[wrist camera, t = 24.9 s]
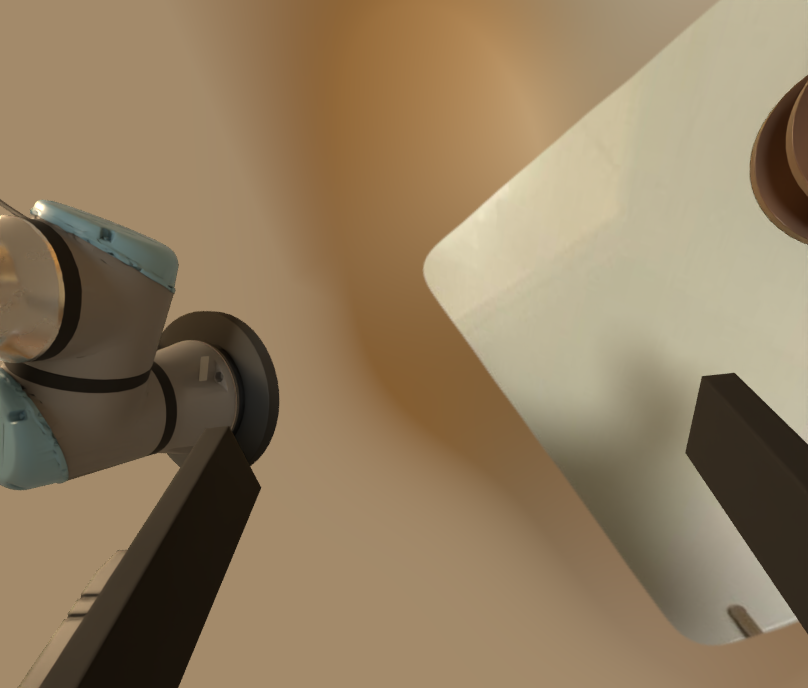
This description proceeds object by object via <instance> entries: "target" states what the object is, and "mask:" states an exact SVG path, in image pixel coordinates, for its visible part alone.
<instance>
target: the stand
mask: <svg viewBox="0 0 808 688" xmlns="http://www.w3.org/2000/svg"><path fill="white" fill-rule="evenodd" d="M750 177H751V183H752V188H753V191H754V194H755V197H756V199H757V201H758V203H759V205H760V207H761V208H762V210H763V211H764V213H765V214H766V215H767V216H768V218H769V219H770V220H771V221H772V222H773V223H774V224H775V225H776V226H777V227H778V228H780V229H781V230H782V231H784V232H785V233H787V234H788V235H790V236H791V237H793V238H795V239H797V240H799V241H801V242H803V243H806V244H808V75H807V76H806V77H805V78H803V79H802V80H801V81H800V82H798V83H797V84H796V85H795V86H794V87H793V88H792V89H791V90H790V91H789V92H788V93H787V94H786V95H785V96H784V97H783V98H782V99H781V100H780V102H779V103H778V104H777V105H776V107H775V108H774V109H773V110H772V111H771V113H770V114H769V116H768V117H767V119H766V120H765V122H764V123H763V125H762V127H761V129H760V131H759V133H758V135H757V138H756V140H755V144H754V147H753V150H752V156H751V162H750Z"/></svg>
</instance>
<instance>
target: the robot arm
mask: <svg viewBox="0 0 808 688" xmlns="http://www.w3.org/2000/svg"><path fill="white" fill-rule="evenodd" d="M0 206H2V207H3V208H5V209H6V210H8V211H9V212H11V213H12V214H13V215H15V216H11V215H0V360H1V361H3V363H2V365H1V366H0V485H2V486H4V487H6V488H9V489H13V490H27V489H32V488H36V487H40V486H45V485H49V484H53V483H63V482H65V481H68V480H71V479H74V478H77V477H80V476H83V475H87V474H90V473H94V472H97V471H100V470H103V469H107V468H110V467H113V466H116V465H119V464H123V463H126V462H129V461H133V460H136V459H139V458H142V457H145V456H149V455H152V454H156V453H172V454H189V455H188V457H187V458H186V460H185V461H184V463H183V464H182V466H181V467H180V469H179V471H178V472H177V474H176V475H175V477H174V478H173V480H172V482H171V483H170V485H169V486H168V488H167V489H166V491H165V492H164V494H163V496H162V497H161V499H160V500H159V502H158V503H157V505H156V506H155V508H154V509H153V511H152V513H151V514H150V516H149V517H148V519H147V521H146V522H145V523H144V525H143V527H142V528H141V530H140V531H139V533H138V534H137V536H136V537H135V539H134V541H133V542H132V544H131V545H130V547H129V548H128V550H118V551H117V552H116V553H115V554H114V555H113V556H112V557H111V558H110V559H109V560H108V561H107V562H106V563H105V564H104V565H103V566H102V567H101V568H100V569H98V570H97V572H96V573H95V575H94V576H93V578H92V579H91V580H90V582H89V583H88V585H87V586H86V588H85V589H84V591H83V592H82V594H81V598H80V599H79V600H77V601H76V603H75V604H74V606H73V607H72V609H71V610H70V611H69V613H68V617H67V619H64V620H63V622H62V623H61V625H60V626H59V628H58V629H57V631H56V632H55V634H54V635H53V637H52V638H51V639H50V641H49V642H48V644H47V645H46V647H45V649H44V650H43V651H42V653H41V654H40V656H39V657H38V659H37V660H36V662H35V663H34V665H33V666H32V667H31V669H30V670H29V672H28V673H27V675H26V677H25V678H24V679H23V681H22V682H21V684H20V685H19V687H18V688H178V687H179V684H180V682H181V679H182V677H183V675H184V672H185V670H186V667H187V665H188V662H189V660H190V658H191V655H192V653H193V651H194V648H195V646H196V643H197V641H198V638H199V636H200V634H201V631H202V629H203V627H204V624H205V622H206V619H207V617H208V614H209V612H210V610H211V607H212V605H213V602H214V600H215V597H216V595H217V593H218V590H219V588H220V586H221V583H222V581H223V578H224V576H225V573H226V571H227V569H228V566H229V564H230V562H231V559H232V557H233V554H234V552H235V549H236V547H237V544H238V542H239V540H240V537H241V535H242V533H243V530H244V528H245V525H246V523H247V521H248V518H249V516H250V513H251V511H252V508H253V506H254V504H255V501H256V499H257V496H258V494H259V491H260V489H261V487H260V484H259V483H258V481H257V479H256V477H255V475H254V473H253V471H252V469H251V467H250V465H249V463H248V461H247V460H246V458H245V456H244V454H243V452H242V450H241V448H240V446H239V444H238V442H237V440H236V438H235V437H234V436H235V435H236V433H237V432H238V430H239V428H240V425H241V423H242V419H243V415H244V409H245V392H244V386H243V381H242V378H241V375H240V372H239V370H238V367H237V366H236V364H235V362H234V360H233V359H232V357H231V356H230V355H229V354H228V353H227V352H226V351H225V350H224V349H223V348H222V347H220V346H219V345H217V344H216V343H214V342H211V341H208V340H185V341H182V342H178V343H175V344H173V345H171V346H168V347H166V348H163V349H161V350H159V351H157V348H158V345H159V341H160V338H161V335H162V331H163V328H164V324H165V321H166V318H167V314H168V311H169V308H170V304H171V301H172V298H173V294H174V293H175V288H174V286H175V281H176V276H177V270H178V265H179V264H178V260H177V257H176V255H175V253H174V252H173V251H172V250H171V249H170V248H169V247H167V246H166V245H164V244H162V243H160V242H158V241H156V240H154V239H152V238H150V237H147V236H145V235H143V234H140V233H138V232H136V231H134V230H131V229H129V228H126V227H124V226H121V225H119V224H116V223H114V222H111V221H109V220H106V219H103V218H101V217H98V216H95V215H92V214H90V213H87V212H85V211H82V210H79V209H76V208H73V207H70V206H67V205H64V204H61V203H57V202H53V201H46V200H39V201H38V202H36V203H35V206H34V208H32V209H31V210H30V213H31V218H32V219H30V218H28V217H26V216H25V215H23V214H21V213H20V212H18V211H17V210H15V209H14V208H12V207H11V206H9V205H8V204H6V203H5V202H4V201H2V200H1V199H0ZM685 453H686V454H687V456H688V457H689V459H690V460H691V462H692V463H693V465H694V466H695V468H696V469H697V471H698V472H699V474H700V475H701V477H702V478H703V480H704V481H705V483H706V484H707V486H708V487H709V489H710V490H711V491H712V493H713V494H714V496H715V497H716V499H717V500H718V502H719V503H720V505H721V506H722V508H723V509H724V511H725V512H726V514H727V515H728V517H729V518H730V520H731V521H732V523H733V524H734V526H735V527H736V528H737V530H738V531H739V533H740V534H741V536H742V537H743V539H744V540H745V542H746V543H747V545H748V546H749V548H750V549H751V551H752V552H753V554H754V555H755V557H756V558H757V560H758V561H759V563H760V564H761V565H762V567H763V568H764V570H765V571H766V573H767V574H768V576H769V577H770V579H771V580H772V582H773V583H774V585H775V586H776V588H777V589H778V591H779V592H780V594H781V595H782V597H783V598H784V600H785V601H786V602H787V604H788V605H789V607H790V608H791V610H792V611H793V613H794V614H795V616H796V617H797V619H798V620H799V622H800V623H801V624H802V626H803V628H804V629H805V630H806V632H807V633H808V444H807V443H806V442H805V441H804V440H803V439H802V438H801V437H800V436H799V435H798V434H797V433H796V432H795V431H794V430H793V429H792V428H790V427H789V426H788V425H787V424H786V423H785V422H784V421H783V420H782V419H781V418H780V417H779V416H778V415H777V414H776V413H775V412H774V411H773V410H772V409H771V408H770V407H769V406H768V405H767V404H766V403H765V402H764V401H763V400H762V399H761V398H760V397H759V396H758V395H757V394H756V393H755V392H754V391H753V390H752V389H751V388H750V387H748V386H747V385H746V384H745V383H744V382H743V381H742V380H741V379H740V378H739V377H738V376H737V375H736V374H735V373H729V374H720V375H710V376H702V379H701V383H700V388H699V393H698V397H697V402H696V406H695V411H694V415H693V420H692V425H691V429H690V434H689V438H688V443H687V447H686V452H685Z"/></svg>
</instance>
